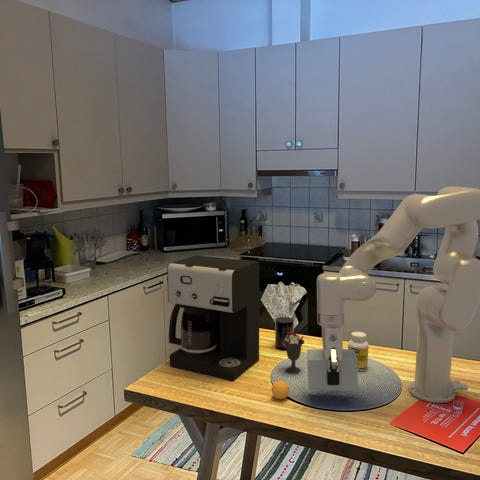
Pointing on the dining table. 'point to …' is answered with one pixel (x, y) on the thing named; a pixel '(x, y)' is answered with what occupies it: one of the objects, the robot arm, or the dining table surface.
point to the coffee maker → (215, 315)
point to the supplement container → (282, 331)
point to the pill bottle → (359, 349)
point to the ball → (280, 390)
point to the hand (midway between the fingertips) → (331, 377)
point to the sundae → (293, 349)
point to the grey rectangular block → (320, 368)
